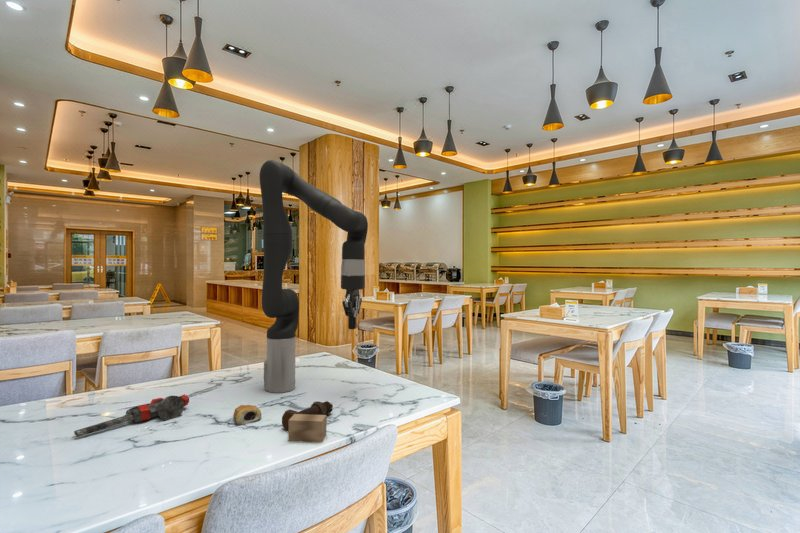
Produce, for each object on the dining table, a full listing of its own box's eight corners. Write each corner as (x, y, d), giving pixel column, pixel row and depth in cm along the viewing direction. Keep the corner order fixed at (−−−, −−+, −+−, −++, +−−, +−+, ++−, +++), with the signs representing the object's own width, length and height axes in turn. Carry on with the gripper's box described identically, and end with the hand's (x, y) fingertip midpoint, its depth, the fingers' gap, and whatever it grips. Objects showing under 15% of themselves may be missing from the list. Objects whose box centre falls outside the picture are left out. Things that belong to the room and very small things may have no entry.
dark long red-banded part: (175, 407, 120) (198, 412, 111) (66, 441, 99) (83, 450, 90) (173, 386, 120) (196, 389, 111) (63, 415, 100) (80, 421, 90)
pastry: (229, 415, 109) (229, 401, 109) (254, 410, 113) (254, 397, 113) (237, 426, 101) (237, 411, 101) (264, 421, 105) (264, 407, 105)
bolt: (331, 420, 110) (290, 438, 97) (319, 408, 113) (278, 424, 100) (339, 404, 109) (299, 420, 96) (327, 392, 111) (287, 406, 98)
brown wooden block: (288, 441, 93) (288, 420, 93) (294, 434, 97) (294, 413, 97) (321, 442, 92) (322, 421, 92) (326, 435, 96) (326, 415, 96)
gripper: (348, 273, 132) (347, 325, 132) (334, 274, 119) (333, 331, 119) (370, 273, 130) (369, 326, 131) (358, 274, 118) (357, 333, 118)
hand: (352, 328), depth 125 cm, fingers closed
